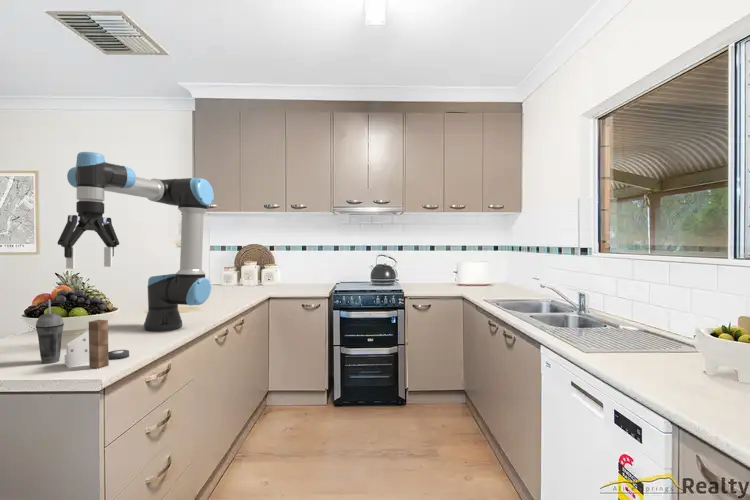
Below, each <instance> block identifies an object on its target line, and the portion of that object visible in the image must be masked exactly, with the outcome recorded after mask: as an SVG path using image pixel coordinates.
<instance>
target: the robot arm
mask: <svg viewBox="0 0 750 500" xmlns="http://www.w3.org/2000/svg"><path fill="white" fill-rule="evenodd" d="M66 174H67V176H66V177H67V182H68V183H69V184H70V186H72V187H73V188H76V200H78V201H76V205H75V206H76V213H77V214H68V215H67V222H66V224H65V226H64V228H63V230H62V232H61V234H60V236H59V239H58V241H57V245H58V246H61V247H62V248H64V249H63V250H64V252H63V253H64V254H63V255H64V258H65V259H66V261H65V264H66V265H65V269H67V270H68V269H69V270H72V269H73V270H75V269H76V247H75V246H74V245H75V244H76V242H78V240H79V239H80V238H81V236H82V235H83V234H84V232H86V231H94V232H95V233H96V234H97V235H98V236H99V238H100V240H101V241H102V243H104V245H105V246H104V247H103V253H104V254H103V267H104V268H105V267H108V268H109V267H110V268H111V267H112V268H113V261H114V260H113V257H114V254H115V252H114V251H115V248H117V246H120V241H119V239H118V236H117V234H116V231H115V229H114V226H113V222H112V218H111V217H103V215H104V214H105V203H104V201H105V192H111V193H115V194H116V193H117V194H121V195H128V196H132V197H133V196H134V197H140V198H146V199H147V200H149V201H151V202H156V203H160V204H165V205H169V206H174V207H175V206H177V209H178V211H180V213H181V225H180V226H181V227H180V228H181V229H180V254H179V255H180V258H179V260H180V261H179V270H177V272H176V273H169V274H162V275H154V276H150V277H149V278H148V281H147V305H148V307H147V313H146V315H145V316H146V317H145V321H144V323H143V330H145V331H147V332H148V331H150V332H163V331H172V330H177V329H181V328H182V327H183V320H182V317H181V314H180V311H179V305H182V306H183V305H184V306H185V305H186V306H190V307H191V306H200V305H203V304H204V303H205V302H206V301H208V299H209V297H210V295H211V292H212V291H211V290H212V284H211V281H210V280H209V279H208V278H207V277H206V273H205V271H204V270H203V242H204V241H203V239H204V231H203V230H204V214H205V213H207V211H208V206H210V205H212V204H213V202H214V199H215V197H214V196H215V195H214V190H213V187H212V185H211V184H210V182H209V181H208V180H206V179H205V178H201V177H188V178H187V177H185V178H167V179H160V178H151V179H149V178H148V179H147V178H144V177H138V176H137V175H136V171H134V170H133V169H132V168H131V167H128V166H125V165H119V164H115V163H110V162H106V160H105V155H103V154H102V153H99V152H94V151H93V152H92V151H81V152H78V153H77V155H76V163H75V166H73V167H71V168H70V169H69V170H68V172H67V173H66ZM77 223H78V224H77Z"/></svg>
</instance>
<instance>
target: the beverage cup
mask: <svg viewBox="0 0 750 500" xmlns="http://www.w3.org/2000/svg"><path fill="white" fill-rule="evenodd" d="M47 301H48V303H47V304H48V312H46V313H43V314H42V315H40V316H39V318H37V320H36V324H35V330H36V333H37V338H38V346H39V347H38V348H39V355H40V356H39V357H40V361H41V364H43V365H49V364H54V363H55V364H56V363H58V362H60V357H61V348H62V337H63V330H64V326H65V323H64V319H63V318H62V316H61V315H60V314H58V313H56V312H51V311H52V310H51V309H52V308H51V307H52V306H51V299H50V298H49V299H47Z"/></svg>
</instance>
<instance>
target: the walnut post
mask: <svg viewBox="0 0 750 500" xmlns="http://www.w3.org/2000/svg"><path fill="white" fill-rule="evenodd" d="M108 321H109V320H108V319H94V320H92V321H88V331H89V366H88V368H89V369H90V368H91V369H97V368H98V369H102V368H104V367H107V366H110V365H109V360H108V352H109V322H108ZM98 369H97V370H98Z"/></svg>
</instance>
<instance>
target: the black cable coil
mask: <svg viewBox="0 0 750 500" xmlns="http://www.w3.org/2000/svg"><path fill="white" fill-rule="evenodd" d="M129 357H130V351H129V350H128V349H116V350H111V351H110V350H109V351H108V359H109V360H110V361H113V360H114V361H115V360H116V361H117V360H118V361H119V360H123V359H127V358H129ZM109 360H108V361H109Z"/></svg>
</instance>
